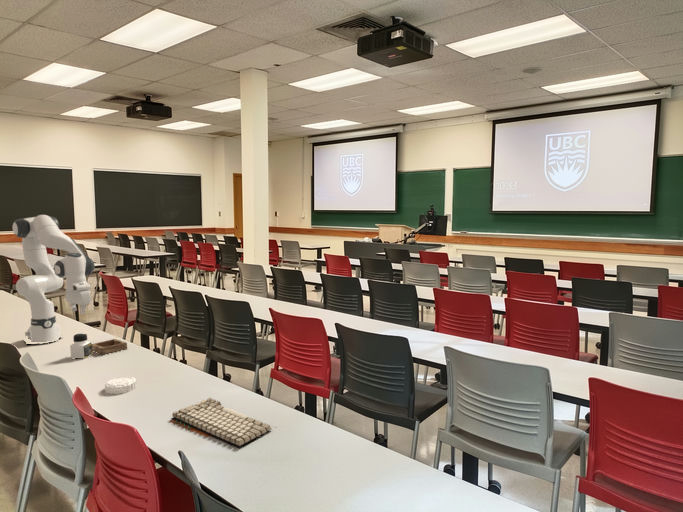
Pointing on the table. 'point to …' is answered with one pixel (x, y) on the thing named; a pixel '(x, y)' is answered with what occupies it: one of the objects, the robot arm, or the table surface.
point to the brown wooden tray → (109, 346)
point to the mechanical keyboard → (220, 423)
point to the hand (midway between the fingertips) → (78, 312)
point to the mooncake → (120, 385)
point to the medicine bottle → (80, 346)
